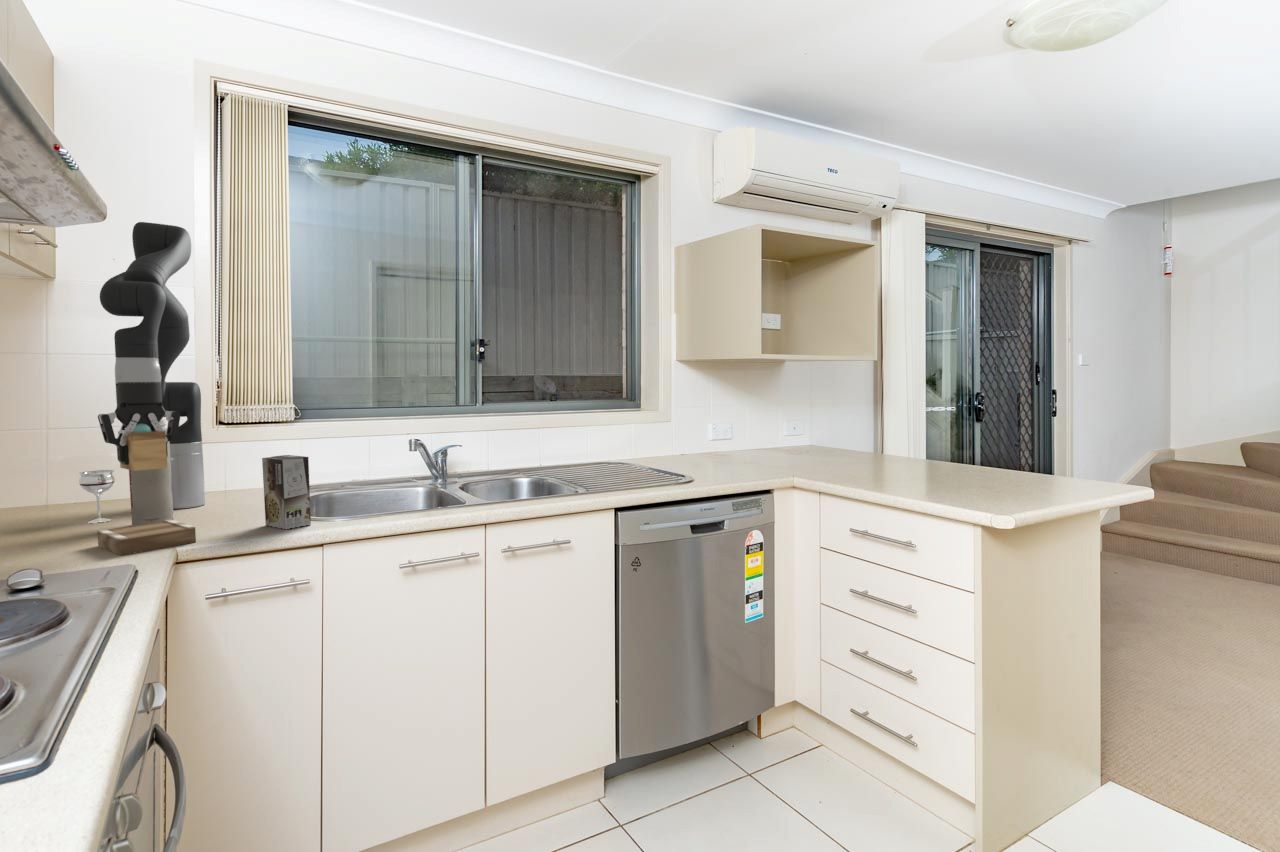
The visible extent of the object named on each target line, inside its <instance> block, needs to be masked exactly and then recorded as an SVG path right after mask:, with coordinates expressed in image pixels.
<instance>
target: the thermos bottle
mask: <svg viewBox="0 0 1280 852" xmlns="http://www.w3.org/2000/svg"><path fill="white" fill-rule="evenodd" d="M165 420H166V419H163V418H162V419H161V420H160V422H159V424H160V426H161V427H162V429H163V431H165V435H166V433H167V428H166V421H165ZM157 428H158V427H157ZM167 454H168V456H167V468H159V469H149V470H139V471H133V470H129V469H128V479H129V480H128V483H129V493H130V494H129V497H130V512H131V513H130V514H131V526H137V525H144V524H151V523H157V522H164V520H168V519H171V520H174V521H175V519H174V509H173V500H172V490H171V463H170V444H169V441H168V443H167Z"/></svg>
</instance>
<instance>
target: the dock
mask: <svg viewBox="0 0 1280 852" xmlns="http://www.w3.org/2000/svg"><path fill="white" fill-rule="evenodd" d="M96 531H97V545H98V547H100V546H101V547H100V548H102V547H103V549H104V548H105V550H107V551H109V550H110V552H112V551H113V553H114V552H115V554H116V553H117V555H119V554H120V555H119V556H125V555H124V554H127V555H130V554H129V553H133V554H135V553H134V552H138V553H141V552H140V551H144V552H147V551H148V550H149V551H154V549H155V550H159V549H160V548H161V549H165V547H166V548H171V547H172V548H173V547H177V546H182V545H181V544H183V545H188V544H187V543H189V544H193V543H192V542H194V543H196V542H197V537H196V534H197V533H196V526H194V525H191V524H187V523H184V522H181V521H177V520H175V519H174V520H171V519H168V520H164V522H157V523H151V524H144V525H137V526H132V525H131V526H124V527H119V528H112V529H105V528H102V529H97V530H96ZM176 545H177V546H176Z"/></svg>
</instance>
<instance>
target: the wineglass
mask: <svg viewBox="0 0 1280 852" xmlns="http://www.w3.org/2000/svg"><path fill="white" fill-rule="evenodd" d="M114 472H115V470H113V469H102V470H101V469H99V470H98V469H97V470H87V471H81V472H78V474H79V475H80V477H79V481H78V484H79V485H80V487H81V488H82V489H83V490H84V491H86V492H87V493H90V494H93V495H94V496H96V507H97V514H98V515H97V516H98V517H97V518H95V519H92V520H89V521H87V522H88V523H87V524H90V523H93V524H98V523H97V522H104V523H107V522H106V521H109V520H111V518H106V517H105V518H104V517H102V516H101V511H102V510H101V496H102V495H103V493H105V492H107V491H109V490H110V489H112V488H113V486H114V485H115V482H116V478H115V476H114ZM109 522H110V521H109Z"/></svg>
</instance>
